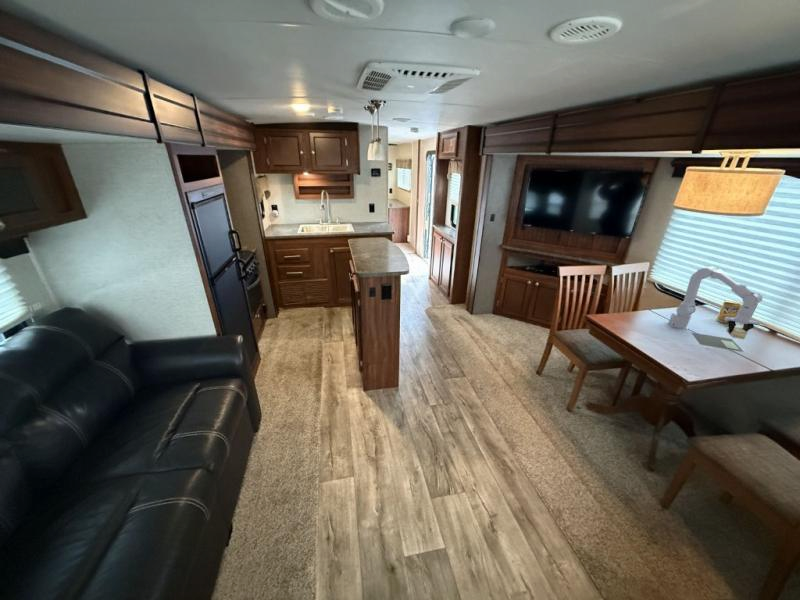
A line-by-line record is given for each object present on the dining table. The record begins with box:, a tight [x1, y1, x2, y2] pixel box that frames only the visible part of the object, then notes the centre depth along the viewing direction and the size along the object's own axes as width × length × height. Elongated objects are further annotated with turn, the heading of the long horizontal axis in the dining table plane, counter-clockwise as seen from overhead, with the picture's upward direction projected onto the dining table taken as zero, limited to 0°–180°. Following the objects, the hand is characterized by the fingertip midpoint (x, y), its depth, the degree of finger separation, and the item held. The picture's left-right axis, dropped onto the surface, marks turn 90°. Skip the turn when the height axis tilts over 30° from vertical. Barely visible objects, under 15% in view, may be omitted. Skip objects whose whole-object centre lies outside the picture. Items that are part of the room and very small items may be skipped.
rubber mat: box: [691, 332, 745, 353], centre depth 191 cm, size 20×16×1 cm
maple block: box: [726, 324, 748, 340], centre depth 184 cm, size 9×5×4 cm, turn 154°
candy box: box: [715, 299, 743, 324], centre depth 212 cm, size 9×4×15 cm, turn 49°
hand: (735, 333), depth 184 cm, fingers closed on maple block, 5 cm apart
